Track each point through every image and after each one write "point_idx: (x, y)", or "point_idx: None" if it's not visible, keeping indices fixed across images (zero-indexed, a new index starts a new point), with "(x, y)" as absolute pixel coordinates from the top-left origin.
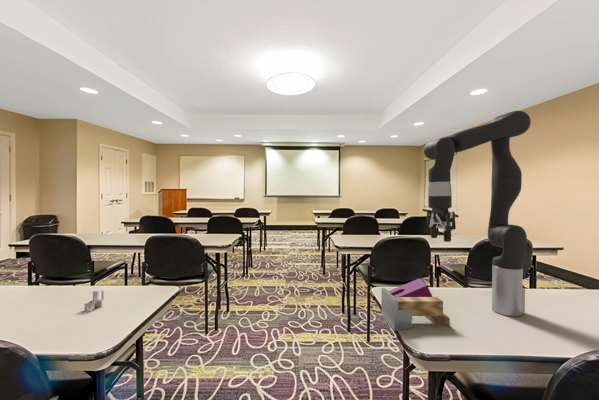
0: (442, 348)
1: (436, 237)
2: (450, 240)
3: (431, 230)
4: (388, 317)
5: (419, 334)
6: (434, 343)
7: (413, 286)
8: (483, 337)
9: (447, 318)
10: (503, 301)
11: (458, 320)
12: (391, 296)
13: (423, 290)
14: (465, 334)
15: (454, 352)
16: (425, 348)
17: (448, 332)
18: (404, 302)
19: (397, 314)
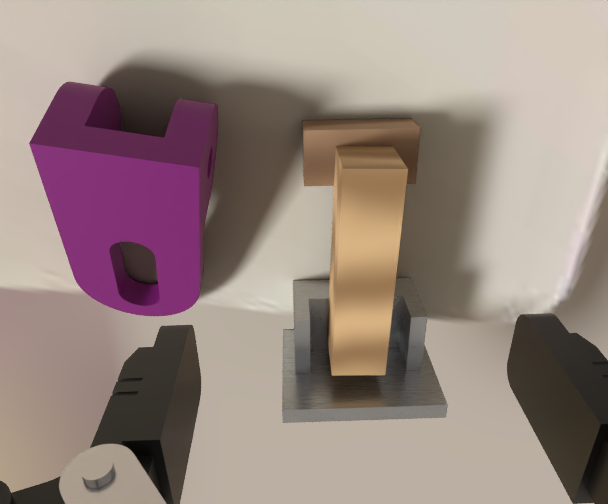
0: (553, 233)
1: (191, 331)
2: (555, 323)
3: (183, 483)
4: None
5: (450, 265)
6: (518, 244)
7: (136, 208)
8: (521, 19)
9: (418, 138)
10: None
11: (349, 29)
12: (398, 415)
13: (202, 177)
14: (482, 86)
15: (584, 208)
16: (539, 285)
17: (454, 150)
18: (387, 343)
19: (432, 366)
